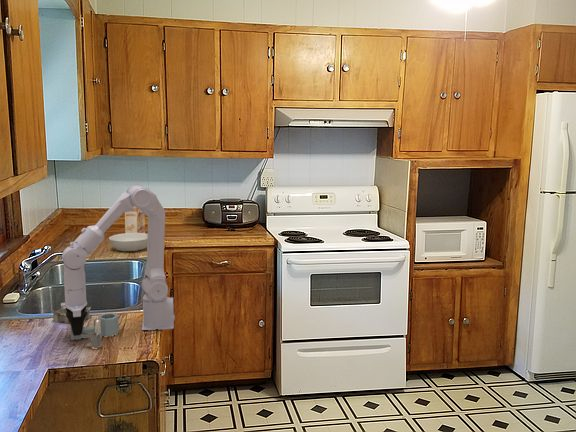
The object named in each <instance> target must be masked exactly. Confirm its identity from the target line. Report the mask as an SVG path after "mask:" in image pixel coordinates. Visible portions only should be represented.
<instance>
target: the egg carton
mask: <svg viewBox="0 0 576 432" xmlns="http://www.w3.org/2000/svg"><path fill="white" fill-rule="evenodd" d="M91 308H92V306H90V307H87V306H86V309H85V311H87V315H86V317H85V319H84V323H86V320H89V319H91V315H90V313H91V312H90V311H91ZM50 312H51V313H52V320H53V322H54V323H65V324H70V321H69V320H68V318H67V316H66V312H67V311H66V307H61V308H59V309H58V310H57V309H56V310H51V311H50Z"/></svg>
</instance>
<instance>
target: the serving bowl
mask: <svg viewBox="0 0 576 432" xmlns="http://www.w3.org/2000/svg"><path fill="white" fill-rule="evenodd" d="M147 239H148V233H146V232H145V233H118V234H114V235H111V236H109V238H108V241H109V244H110V245H111V247H112V248H114V249H115V250H118V251H122V252H126V251H133V252H138V250H139V251H140V250H143V249H144V250H145V249H147Z"/></svg>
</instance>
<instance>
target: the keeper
mask: <svg viewBox="0 0 576 432" xmlns="http://www.w3.org/2000/svg"><path fill="white" fill-rule="evenodd" d="M81 337H85V338H84V339H90V342H91V344H90V347H95V348H98V347H99V346H100V347H101V341H100V334H98V333H87V332H83V333H81Z"/></svg>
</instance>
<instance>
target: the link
mask: <svg viewBox="0 0 576 432" xmlns="http://www.w3.org/2000/svg"><path fill="white" fill-rule="evenodd" d="M118 315H119V314H118V313H116V312H115V313H114V312H108V313H102V314H100V315H98V318H97V319H100V320H101V337H102V336H112V335H115V334H117V333H119V332H120V331H119V329H120V328H119V316H118ZM69 325H70V338H71V339H70V340H71V341H74V340H73V339H76V340H81V338H84V339H86V338H85V337H81V335H77V336H74V335H73V332H72V328H71V324H70V323H69ZM83 332H87V333H94V325H93V326H84V323H83V329H82V333H83ZM119 334H120V333H119ZM117 335H118V334H117ZM115 336H116V335H115ZM112 337H113V336H112Z"/></svg>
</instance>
